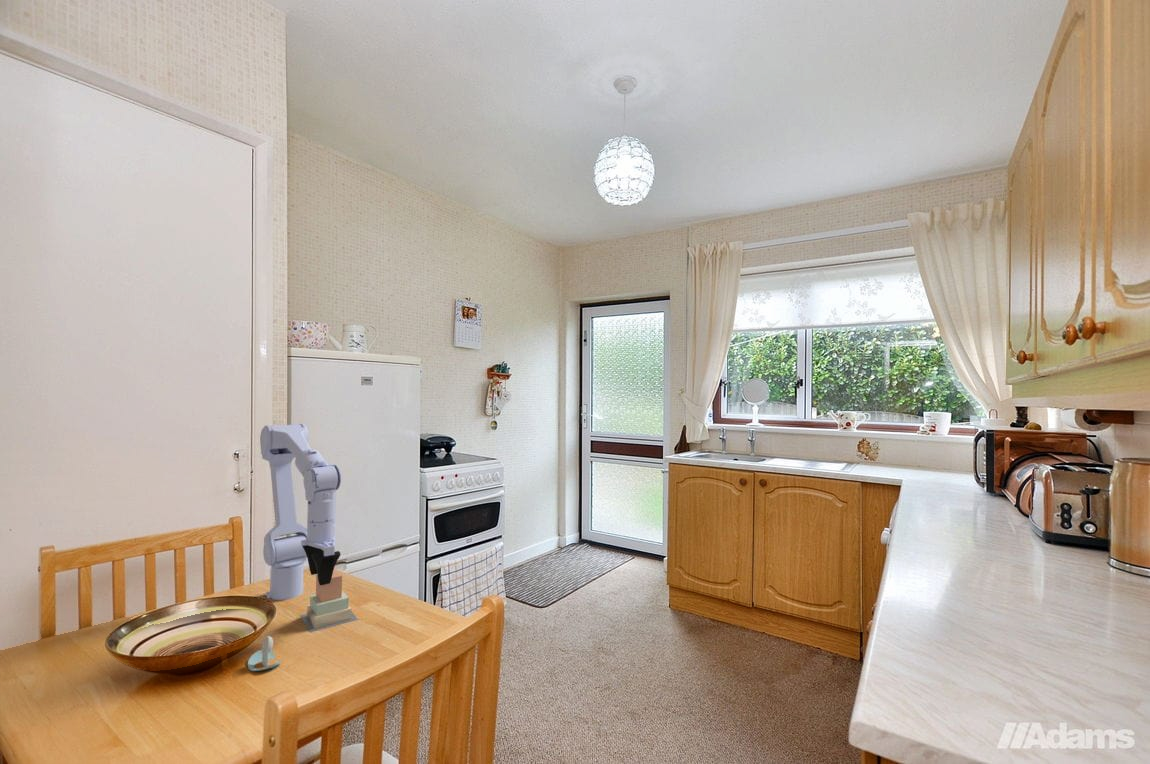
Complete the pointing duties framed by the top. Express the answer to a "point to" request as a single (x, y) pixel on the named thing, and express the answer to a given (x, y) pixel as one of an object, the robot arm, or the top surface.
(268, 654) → the pacifier
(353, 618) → the slate board
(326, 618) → the oak slab
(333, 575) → the terracotta block
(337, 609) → the sage slab
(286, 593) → the robot arm
